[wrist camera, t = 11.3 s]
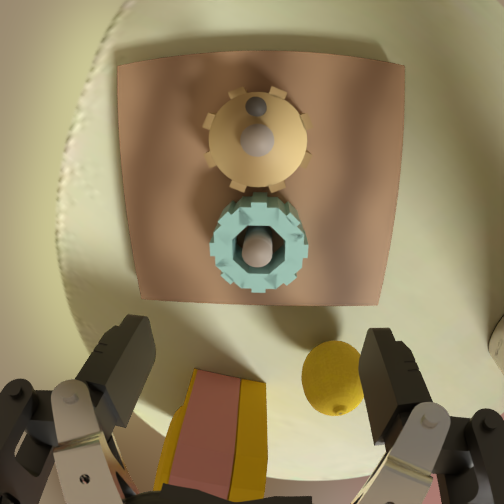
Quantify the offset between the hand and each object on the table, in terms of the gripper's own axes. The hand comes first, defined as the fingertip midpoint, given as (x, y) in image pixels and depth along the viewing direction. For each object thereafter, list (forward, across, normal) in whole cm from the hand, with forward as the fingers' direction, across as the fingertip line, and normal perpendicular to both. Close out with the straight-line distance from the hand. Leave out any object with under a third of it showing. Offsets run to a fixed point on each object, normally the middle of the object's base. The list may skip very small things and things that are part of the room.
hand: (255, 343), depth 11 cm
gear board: (+13, +1, -3) cm, 14 cm away
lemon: (+14, -6, +12) cm, 19 cm away
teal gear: (+11, 0, 0) cm, 11 cm away
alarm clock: (+14, +5, +22) cm, 26 cm away
